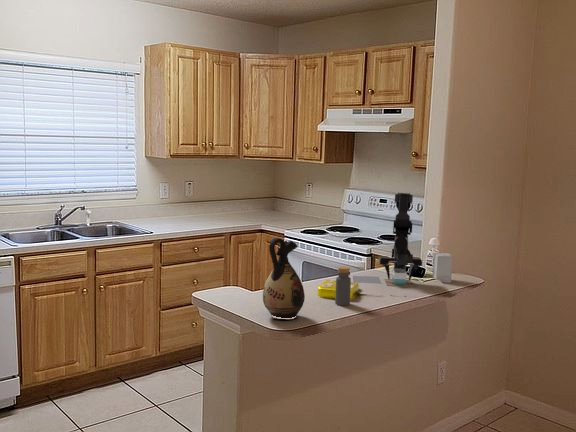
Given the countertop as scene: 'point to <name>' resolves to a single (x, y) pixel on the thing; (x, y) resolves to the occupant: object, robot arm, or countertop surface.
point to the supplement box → (442, 267)
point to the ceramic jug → (283, 283)
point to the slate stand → (366, 279)
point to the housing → (399, 277)
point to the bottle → (343, 286)
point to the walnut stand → (390, 283)
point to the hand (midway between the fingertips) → (399, 279)
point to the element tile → (329, 289)
